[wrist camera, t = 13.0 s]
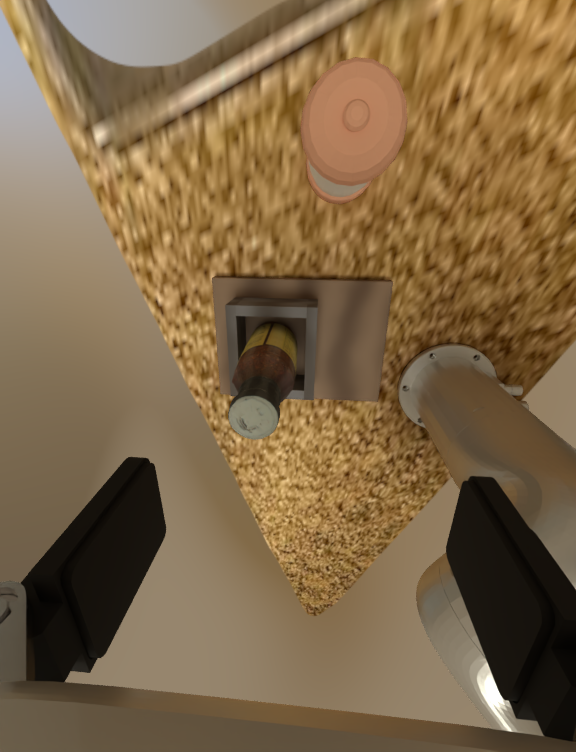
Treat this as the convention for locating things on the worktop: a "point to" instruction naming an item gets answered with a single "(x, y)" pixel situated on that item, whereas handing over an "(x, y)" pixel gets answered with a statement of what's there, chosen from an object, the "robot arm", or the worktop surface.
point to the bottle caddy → (309, 330)
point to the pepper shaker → (352, 127)
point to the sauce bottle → (263, 380)
